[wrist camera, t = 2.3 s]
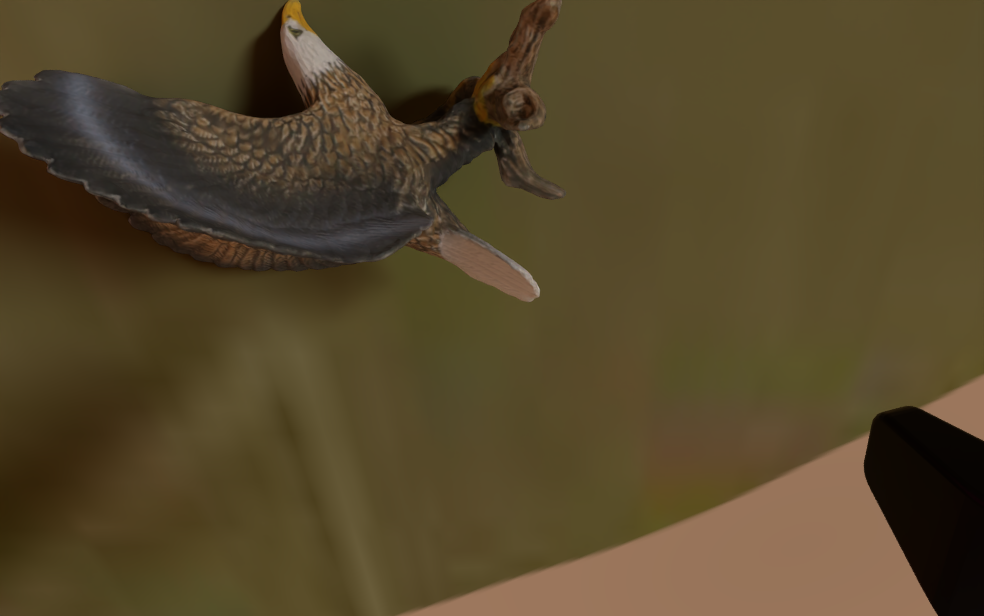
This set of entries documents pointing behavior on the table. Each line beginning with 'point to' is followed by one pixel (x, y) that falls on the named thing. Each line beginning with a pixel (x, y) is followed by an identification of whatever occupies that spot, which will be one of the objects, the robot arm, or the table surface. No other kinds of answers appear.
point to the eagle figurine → (294, 160)
